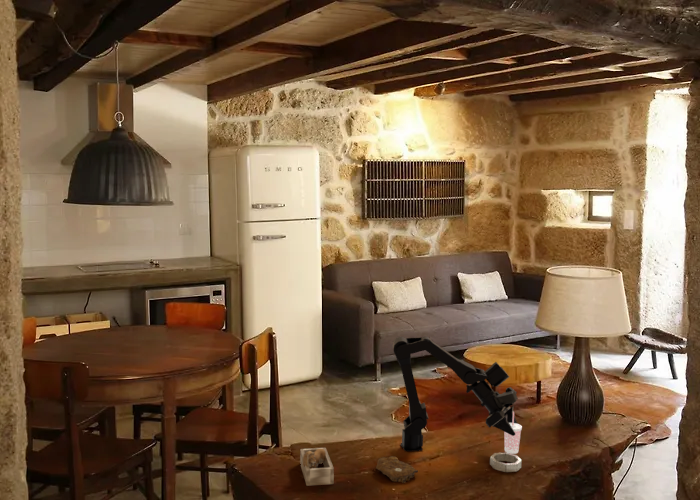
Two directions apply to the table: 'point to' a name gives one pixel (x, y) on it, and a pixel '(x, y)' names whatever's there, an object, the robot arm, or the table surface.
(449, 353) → the robot arm
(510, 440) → the beverage cup
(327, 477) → the open figurine box
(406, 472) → the decorative rock
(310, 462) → the lion figurine
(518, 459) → the cup holder ring
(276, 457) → the table surface
